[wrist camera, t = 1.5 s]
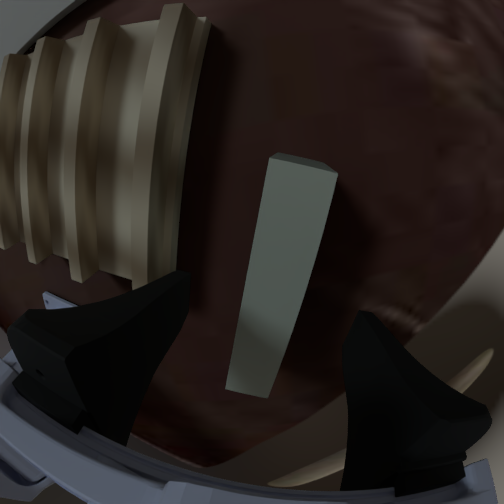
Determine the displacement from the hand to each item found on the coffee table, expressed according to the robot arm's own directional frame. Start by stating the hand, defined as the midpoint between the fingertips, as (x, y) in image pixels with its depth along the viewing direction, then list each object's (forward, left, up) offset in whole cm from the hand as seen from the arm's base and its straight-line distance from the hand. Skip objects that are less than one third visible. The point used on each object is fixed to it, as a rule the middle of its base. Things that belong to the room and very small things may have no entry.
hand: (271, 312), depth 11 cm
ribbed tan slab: (+5, +15, -5) cm, 16 cm away
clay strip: (0, 0, -5) cm, 5 cm away
